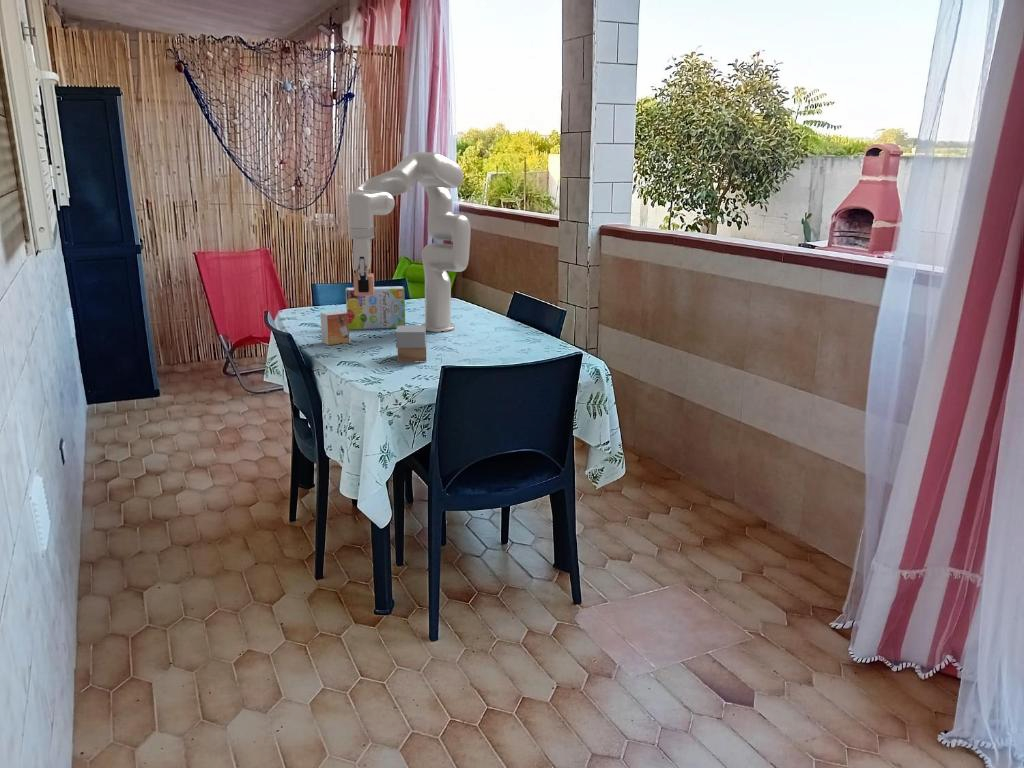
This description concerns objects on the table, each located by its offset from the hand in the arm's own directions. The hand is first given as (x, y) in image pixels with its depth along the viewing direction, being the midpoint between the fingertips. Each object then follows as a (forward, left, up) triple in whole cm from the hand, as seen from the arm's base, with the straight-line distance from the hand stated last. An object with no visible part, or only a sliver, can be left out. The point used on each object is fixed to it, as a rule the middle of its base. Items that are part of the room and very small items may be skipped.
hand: (364, 289), depth 247 cm
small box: (-16, -11, -21) cm, 29 cm away
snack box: (-39, +2, -22) cm, 44 cm away
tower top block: (+6, +15, -17) cm, 23 cm away
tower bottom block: (+6, +15, -22) cm, 27 cm away
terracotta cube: (0, 0, -1) cm, 1 cm away
